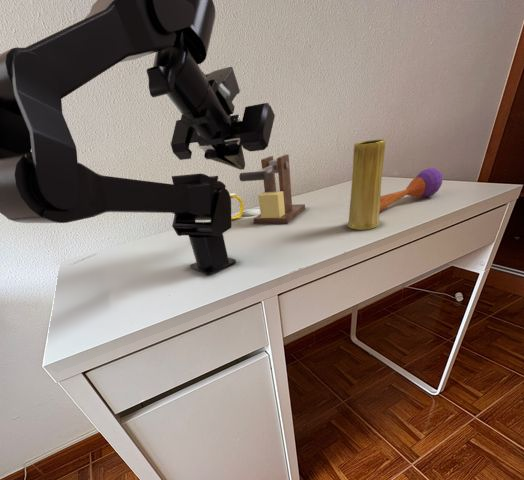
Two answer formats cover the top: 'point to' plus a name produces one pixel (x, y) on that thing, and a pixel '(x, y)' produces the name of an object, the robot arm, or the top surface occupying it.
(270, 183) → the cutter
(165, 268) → the top surface
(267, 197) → the butter
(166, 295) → the top surface
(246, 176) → the angled grey lever
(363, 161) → the vase
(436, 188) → the maraca
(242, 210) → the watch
